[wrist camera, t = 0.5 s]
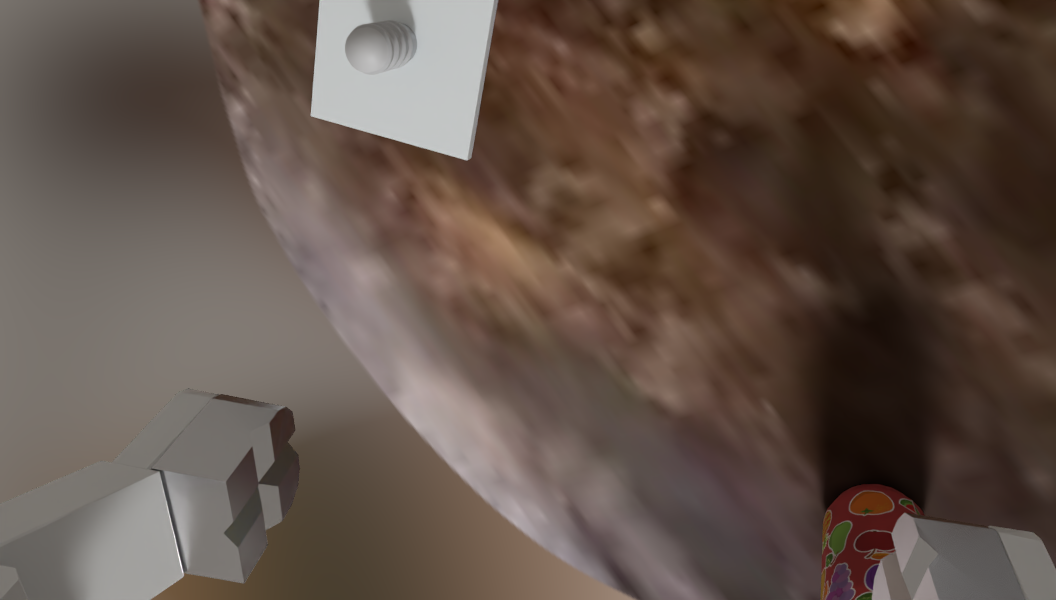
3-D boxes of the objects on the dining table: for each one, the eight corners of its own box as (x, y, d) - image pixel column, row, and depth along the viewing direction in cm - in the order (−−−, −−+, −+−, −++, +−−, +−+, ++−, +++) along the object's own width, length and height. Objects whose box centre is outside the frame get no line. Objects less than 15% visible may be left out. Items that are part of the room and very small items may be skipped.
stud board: (332, -82, 52) (283, -87, 47) (505, -42, 50) (473, -42, 45) (316, 114, 58) (271, 129, 53) (471, 157, 56) (439, 177, 51)
